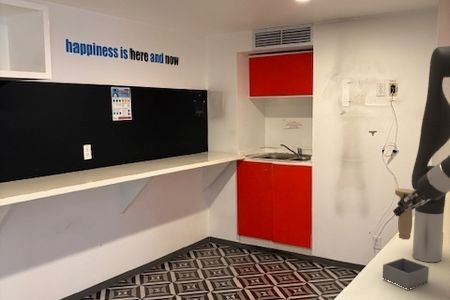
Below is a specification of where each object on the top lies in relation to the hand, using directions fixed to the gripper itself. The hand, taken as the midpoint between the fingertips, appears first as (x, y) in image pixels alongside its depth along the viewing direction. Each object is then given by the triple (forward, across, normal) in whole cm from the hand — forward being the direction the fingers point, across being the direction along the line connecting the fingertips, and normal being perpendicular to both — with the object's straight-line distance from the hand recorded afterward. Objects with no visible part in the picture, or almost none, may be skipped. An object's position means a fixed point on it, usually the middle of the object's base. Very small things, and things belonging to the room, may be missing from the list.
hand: (399, 212), depth 131 cm
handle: (+4, 0, +7) cm, 8 cm away
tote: (+14, -1, +17) cm, 22 cm away
